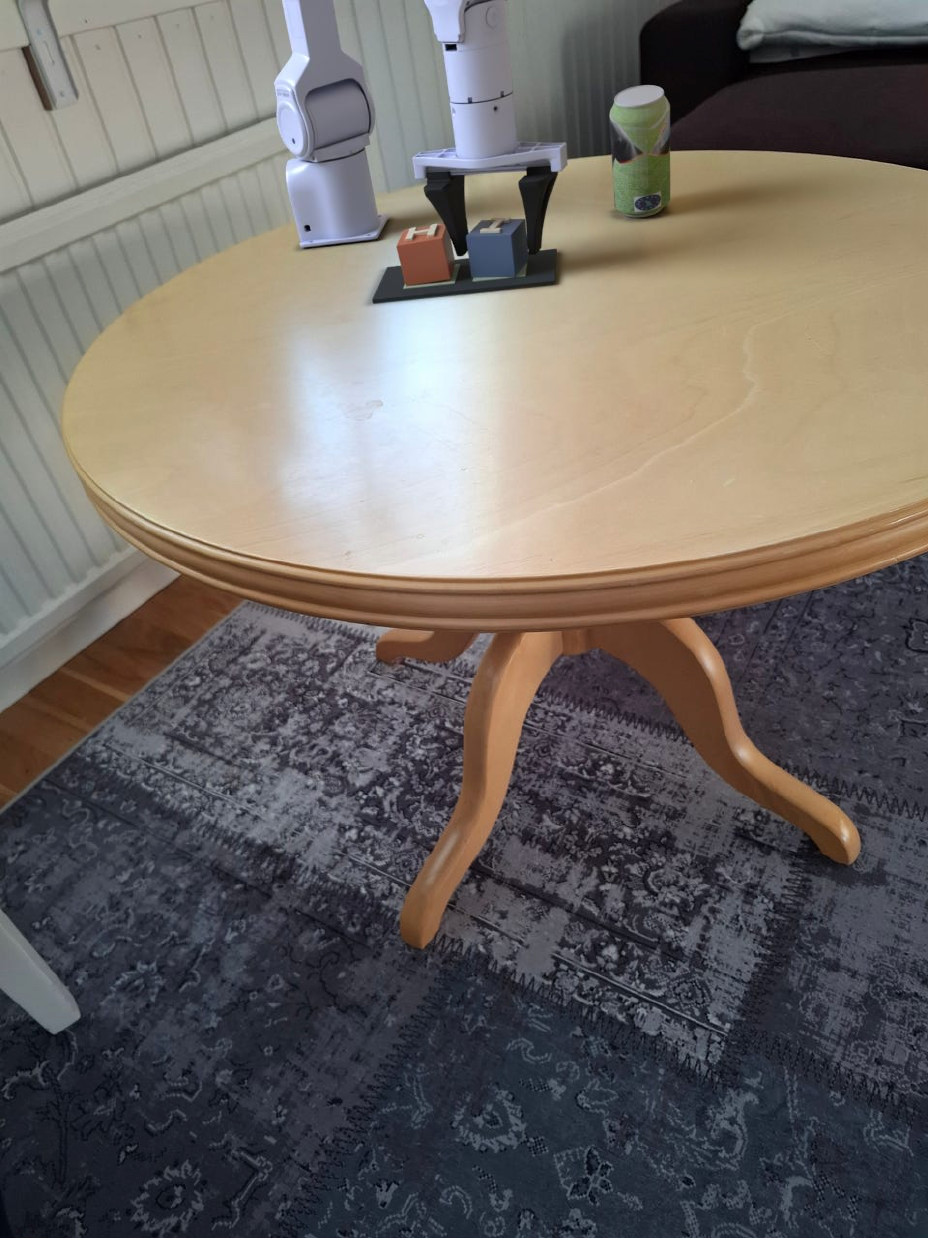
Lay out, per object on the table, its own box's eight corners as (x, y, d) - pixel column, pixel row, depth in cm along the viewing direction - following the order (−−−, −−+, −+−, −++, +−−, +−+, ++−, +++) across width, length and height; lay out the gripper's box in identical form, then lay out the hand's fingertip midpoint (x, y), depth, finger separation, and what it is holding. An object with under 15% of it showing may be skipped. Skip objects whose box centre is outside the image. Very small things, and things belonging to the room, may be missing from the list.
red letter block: (405, 286, 88) (395, 242, 86) (412, 269, 92) (402, 227, 89) (450, 279, 88) (441, 234, 85) (455, 262, 91) (447, 219, 88)
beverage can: (668, 199, 99) (669, 76, 91) (673, 220, 94) (675, 91, 86) (611, 206, 100) (607, 85, 92) (613, 227, 95) (609, 100, 87)
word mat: (372, 303, 88) (371, 298, 87) (387, 270, 94) (386, 265, 94) (555, 284, 85) (554, 279, 84) (557, 252, 91) (556, 247, 91)
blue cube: (471, 277, 88) (465, 232, 85) (486, 260, 91) (480, 216, 88) (515, 276, 86) (510, 231, 83) (529, 259, 89) (525, 214, 87)
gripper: (572, 78, 79) (580, 235, 88) (423, 91, 84) (445, 239, 93) (550, 97, 74) (561, 261, 83) (394, 110, 79) (420, 264, 88)
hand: (498, 251), depth 87 cm, fingers open, 7 cm apart
